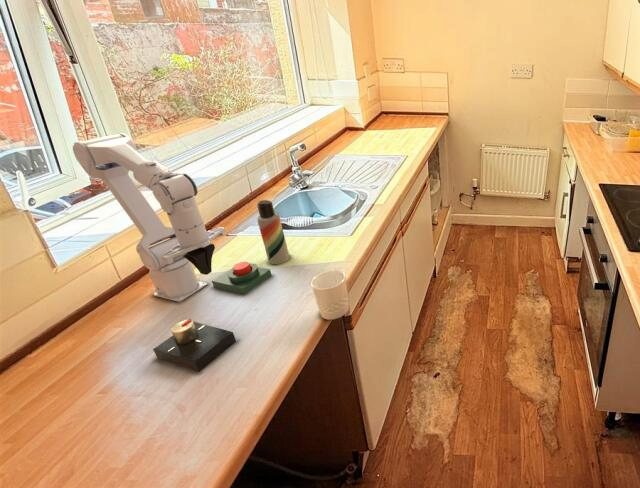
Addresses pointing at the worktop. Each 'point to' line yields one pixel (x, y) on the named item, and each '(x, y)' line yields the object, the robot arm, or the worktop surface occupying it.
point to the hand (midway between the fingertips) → (206, 272)
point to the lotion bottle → (272, 233)
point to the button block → (242, 280)
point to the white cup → (331, 294)
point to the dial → (184, 332)
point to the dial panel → (196, 348)
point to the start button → (241, 268)
